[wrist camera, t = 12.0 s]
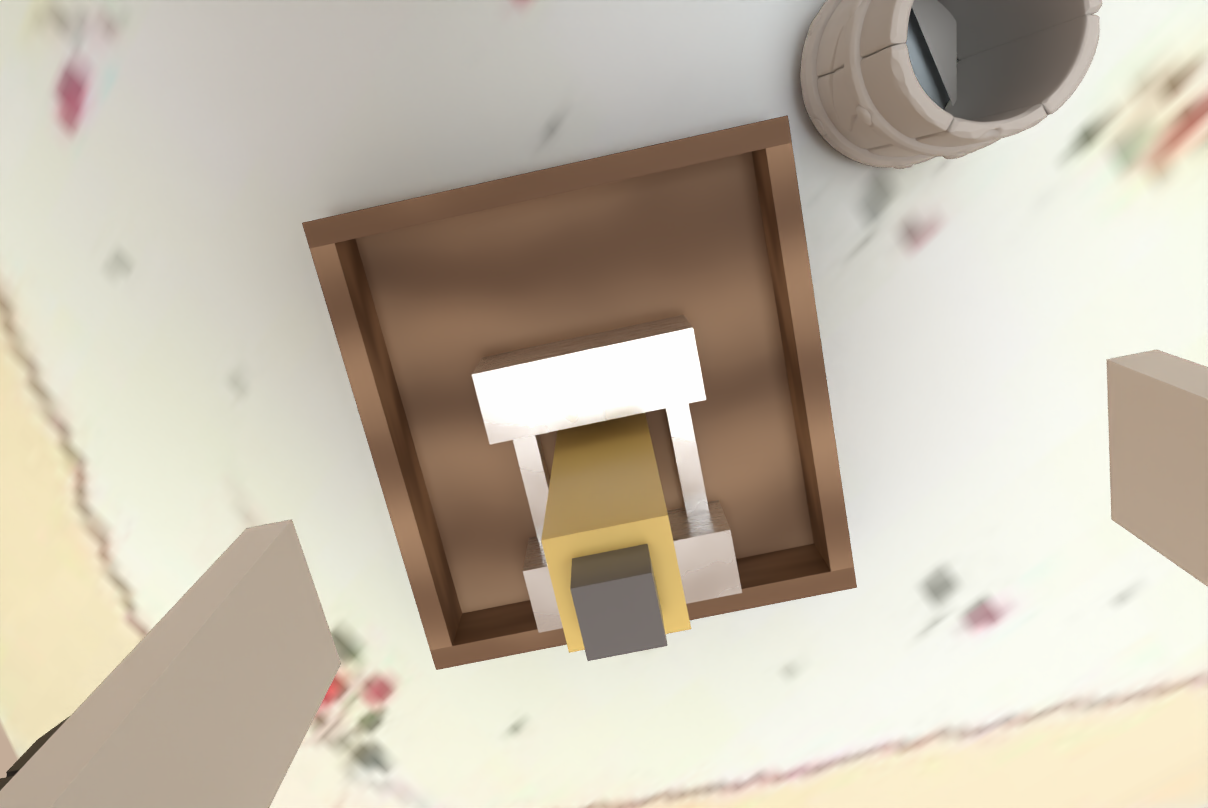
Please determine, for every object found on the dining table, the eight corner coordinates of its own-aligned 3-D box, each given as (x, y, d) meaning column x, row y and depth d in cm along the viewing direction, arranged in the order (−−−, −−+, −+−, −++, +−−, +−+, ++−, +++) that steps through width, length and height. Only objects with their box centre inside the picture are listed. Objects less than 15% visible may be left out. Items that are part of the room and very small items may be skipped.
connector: (557, 429, 37) (536, 569, 24) (644, 411, 37) (674, 542, 23) (576, 510, 38) (567, 689, 25) (661, 493, 38) (698, 664, 24)
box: (330, 219, 35) (301, 223, 32) (768, 122, 34) (787, 115, 31) (449, 629, 40) (436, 669, 37) (834, 553, 40) (857, 587, 36)
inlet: (482, 357, 36) (471, 374, 33) (683, 314, 36) (692, 327, 33) (543, 595, 39) (538, 632, 36) (729, 558, 39) (742, 592, 36)
